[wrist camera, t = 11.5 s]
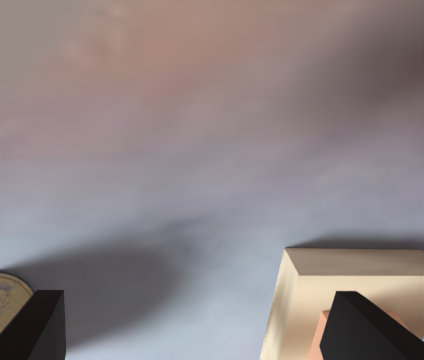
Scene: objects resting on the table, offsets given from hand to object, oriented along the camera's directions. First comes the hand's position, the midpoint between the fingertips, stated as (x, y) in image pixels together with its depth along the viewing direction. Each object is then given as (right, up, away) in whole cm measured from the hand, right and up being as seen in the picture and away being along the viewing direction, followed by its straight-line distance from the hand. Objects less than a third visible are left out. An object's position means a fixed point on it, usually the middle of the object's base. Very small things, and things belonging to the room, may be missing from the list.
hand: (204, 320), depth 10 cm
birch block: (+8, -4, +15) cm, 18 cm away
